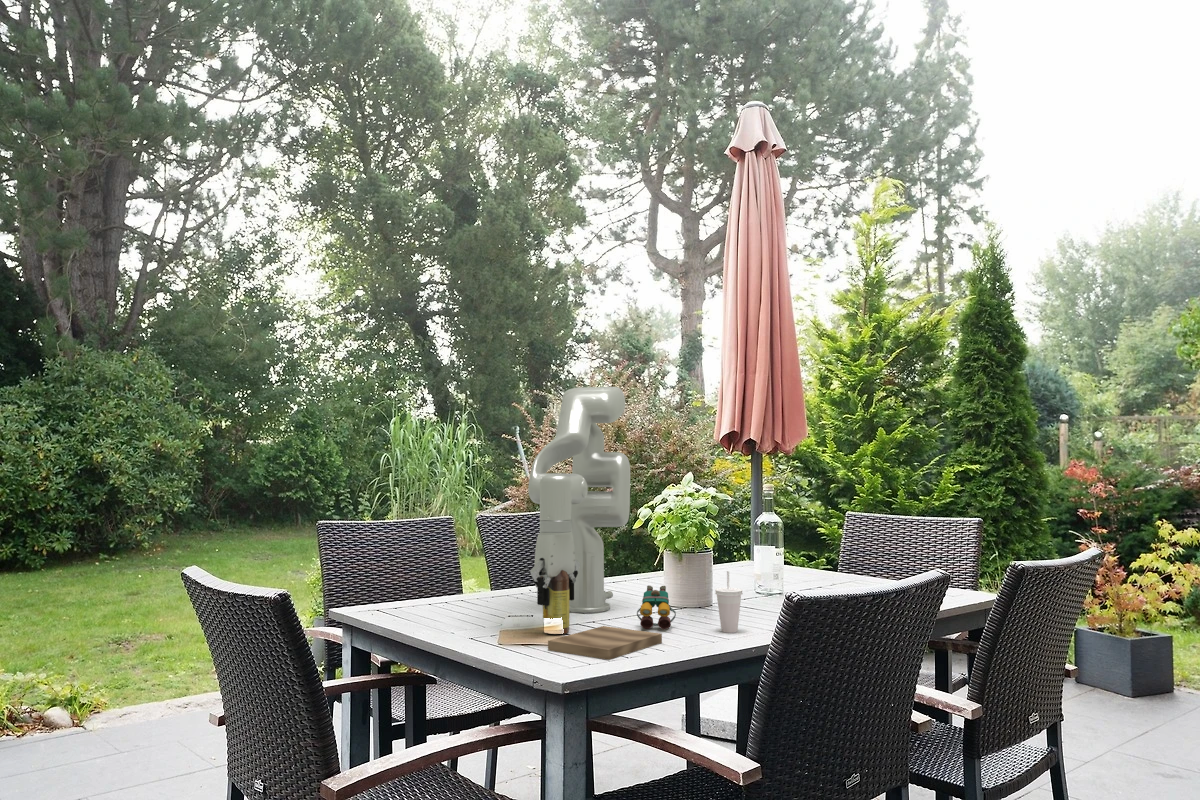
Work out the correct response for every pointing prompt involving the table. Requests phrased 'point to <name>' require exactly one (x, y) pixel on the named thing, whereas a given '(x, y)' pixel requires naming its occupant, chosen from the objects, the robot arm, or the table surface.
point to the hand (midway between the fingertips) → (556, 602)
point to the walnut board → (605, 642)
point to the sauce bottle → (559, 599)
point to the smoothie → (729, 607)
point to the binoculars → (664, 608)
